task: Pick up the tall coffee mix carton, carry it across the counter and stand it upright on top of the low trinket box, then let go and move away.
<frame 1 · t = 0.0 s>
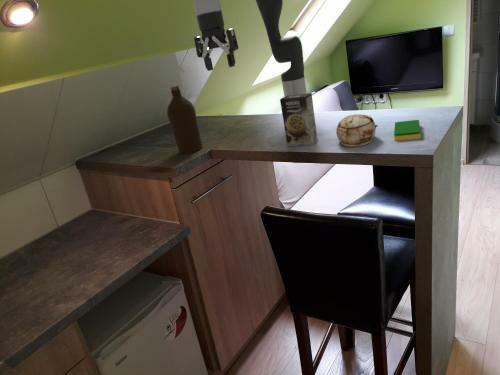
hand: (221, 68, 120), 29 cm above the worktop, tool pointing down, fingers open, 8 cm apart
coffee box: (302, 143, 133), on the worktop
dish sponge: (407, 134, 121), on the worktop
trinket box: (356, 140, 124), on the worktop
olive oil: (191, 150, 155), on the worktop
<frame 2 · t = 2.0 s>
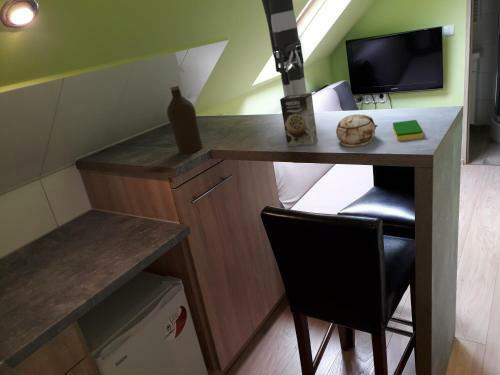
hand: (292, 82, 126), 20 cm above the worktop, tool pointing down, fingers open, 8 cm apart
nothing on the worktop moved.
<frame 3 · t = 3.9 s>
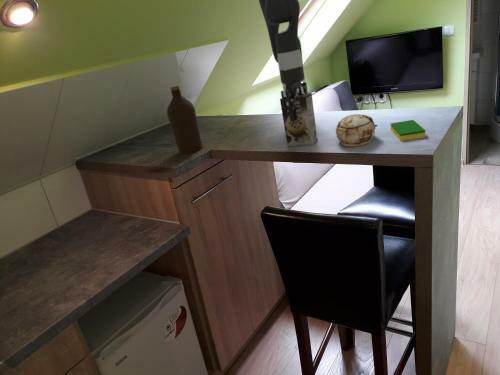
hand: (298, 117, 130), 9 cm above the worktop, tool pointing down, fingers closed on coffee box, 6 cm apart
coffee box: (302, 143, 133), on the worktop, touching gripper
everything else where it was.
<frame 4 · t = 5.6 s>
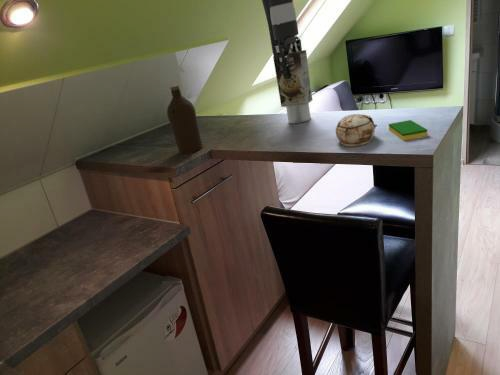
hand: (292, 76, 125), 22 cm above the worktop, tool pointing down, fingers closed on coffee box, 6 cm apart
coffee box: (297, 104, 128), point 13 cm above the worktop, touching gripper
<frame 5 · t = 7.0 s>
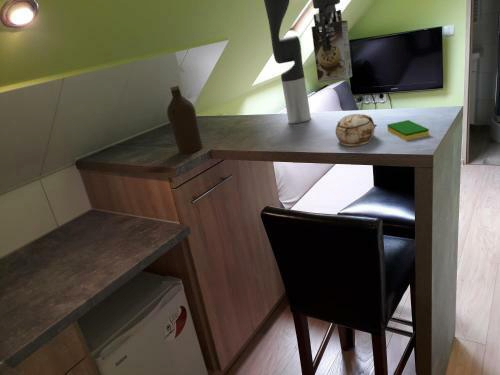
hand: (332, 49, 116), 28 cm above the worktop, tool pointing down, fingers closed on coffee box, 6 cm apart
coffee box: (335, 80, 119), point 19 cm above the worktop, touching gripper
when the fingers open (18 cm above the worktop, at t = 10.1 s): coffee box drops 2 cm, point 8 cm above the worktop.
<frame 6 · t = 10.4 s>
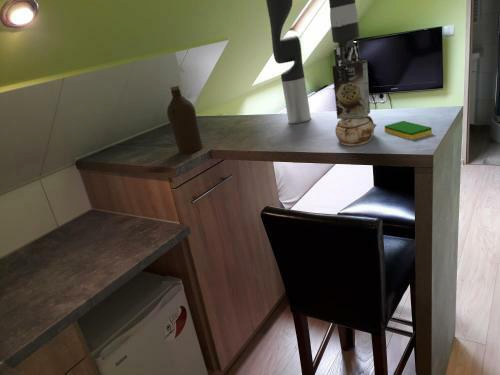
hand: (350, 80, 118), 19 cm above the worktop, tool pointing down, fingers open, 8 cm apart
coffee box: (353, 116, 122), point 8 cm above the worktop
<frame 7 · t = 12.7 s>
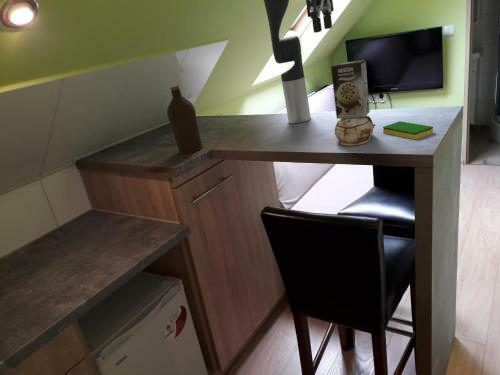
hand: (323, 30, 115), 34 cm above the worktop, tool pointing down, fingers open, 8 cm apart
coffee box: (353, 116, 122), point 8 cm above the worktop, touching trinket box
trinket box: (354, 140, 126), on the worktop, touching coffee box
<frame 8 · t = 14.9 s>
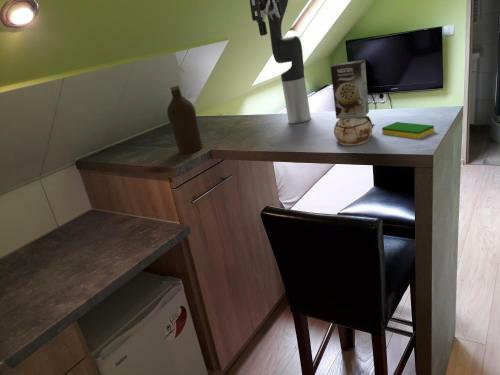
hand: (270, 33, 121), 36 cm above the worktop, tool pointing down, fingers open, 8 cm apart
at the end: coffee box inside the target area on the trinket box (0.7 cm from its centre), point 7.9 cm above the trinket box's base; coffee box tilted 0°; the gripper is holding nothing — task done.
